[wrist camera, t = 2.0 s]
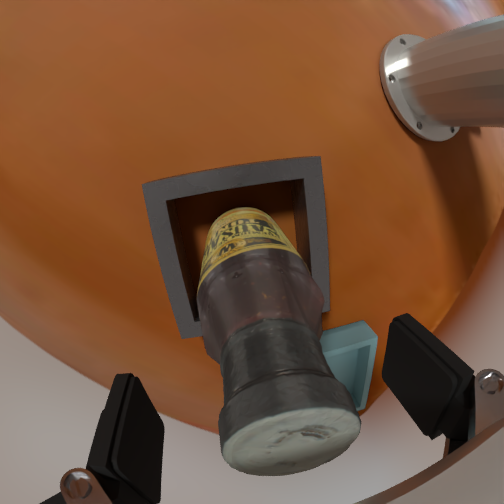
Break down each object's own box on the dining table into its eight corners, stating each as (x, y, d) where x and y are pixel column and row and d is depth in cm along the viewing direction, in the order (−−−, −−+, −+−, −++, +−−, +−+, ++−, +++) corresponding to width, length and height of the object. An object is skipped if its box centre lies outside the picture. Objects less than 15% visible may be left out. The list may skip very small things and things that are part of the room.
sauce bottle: (257, 190, 24) (405, 303, 5) (288, 251, 26) (419, 427, 7) (190, 227, 24) (134, 429, 5) (225, 285, 26) (256, 500, 7)
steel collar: (303, 156, 23) (320, 156, 19) (315, 291, 27) (329, 310, 24) (153, 180, 22) (141, 184, 18) (185, 315, 26) (181, 338, 23)
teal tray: (363, 320, 30) (377, 336, 26) (355, 391, 34) (364, 408, 30) (255, 346, 29) (260, 367, 25) (267, 415, 33) (272, 434, 29)
